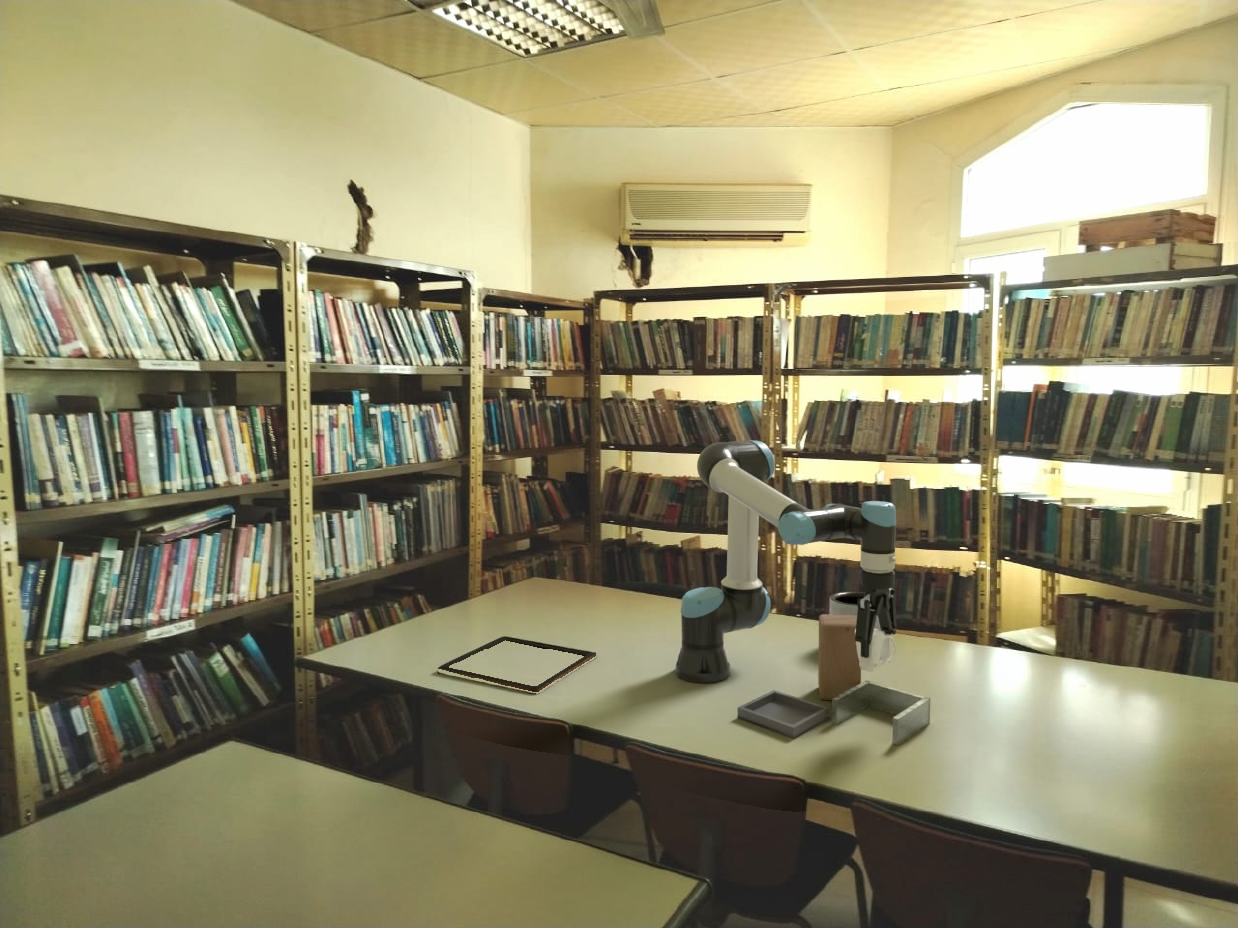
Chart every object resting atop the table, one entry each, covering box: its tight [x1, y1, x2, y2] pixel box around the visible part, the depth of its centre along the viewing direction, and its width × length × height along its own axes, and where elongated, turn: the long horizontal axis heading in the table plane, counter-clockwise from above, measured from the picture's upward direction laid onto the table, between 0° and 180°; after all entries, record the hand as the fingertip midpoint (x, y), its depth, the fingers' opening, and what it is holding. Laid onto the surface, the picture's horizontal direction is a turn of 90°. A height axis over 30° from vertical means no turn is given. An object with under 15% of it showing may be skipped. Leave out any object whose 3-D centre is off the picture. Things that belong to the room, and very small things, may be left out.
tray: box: [737, 689, 830, 739], centre depth 187 cm, size 16×15×3 cm
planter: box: [829, 591, 881, 630], centre depth 235 cm, size 16×16×16 cm
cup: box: [855, 629, 898, 669], centre depth 180 cm, size 7×10×8 cm
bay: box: [831, 679, 931, 746], centre depth 183 cm, size 16×16×6 cm
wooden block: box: [817, 613, 862, 701], centre depth 200 cm, size 10×10×20 cm
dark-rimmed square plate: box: [437, 636, 597, 692], centre depth 226 cm, size 38×35×3 cm
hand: (875, 665), depth 180 cm, fingers closed on cup, 8 cm apart
